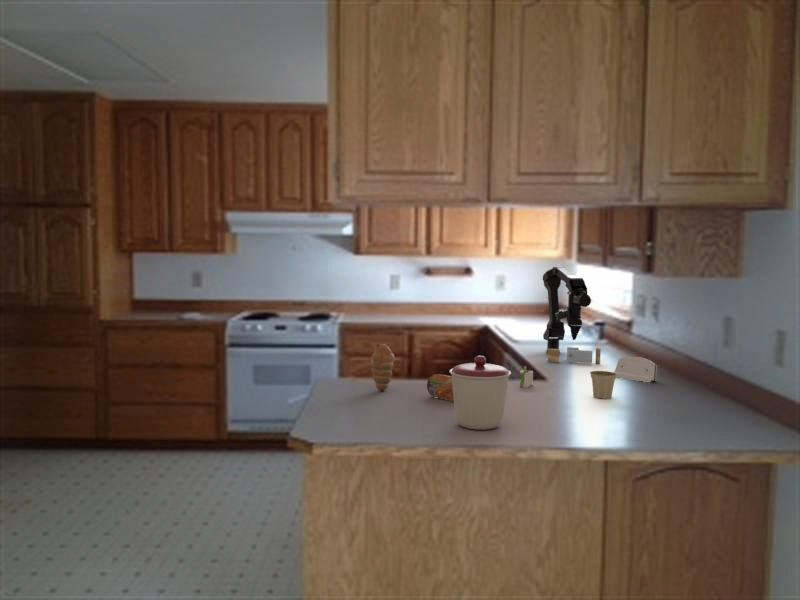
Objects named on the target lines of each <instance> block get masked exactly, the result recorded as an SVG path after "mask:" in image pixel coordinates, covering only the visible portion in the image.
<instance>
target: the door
mask: <svg viewBox="0 0 800 600" xmlns="http://www.w3.org/2000/svg"><path fill="white" fill-rule="evenodd" d="M566 362H567V363H578V362H579V363H583V364H593V350H589V349H588V350H586V349H579V350H567V349H566ZM579 363H578V364H579Z"/></svg>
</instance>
